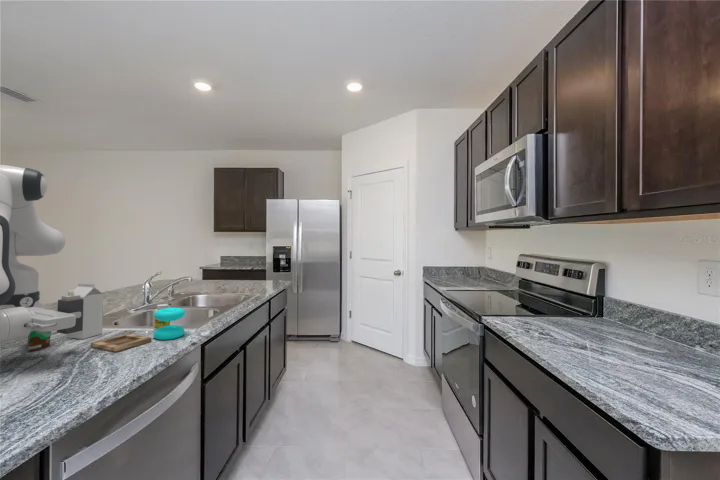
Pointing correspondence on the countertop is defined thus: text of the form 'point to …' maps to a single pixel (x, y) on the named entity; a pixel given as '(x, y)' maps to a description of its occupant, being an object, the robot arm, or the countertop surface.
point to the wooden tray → (120, 342)
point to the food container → (38, 340)
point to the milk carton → (89, 311)
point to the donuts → (169, 330)
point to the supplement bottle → (161, 323)
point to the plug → (71, 310)
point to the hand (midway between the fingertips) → (73, 313)
